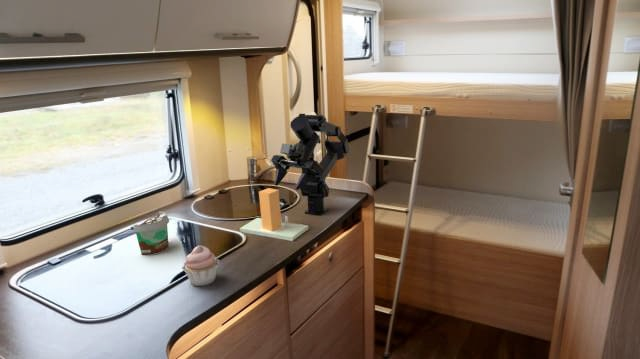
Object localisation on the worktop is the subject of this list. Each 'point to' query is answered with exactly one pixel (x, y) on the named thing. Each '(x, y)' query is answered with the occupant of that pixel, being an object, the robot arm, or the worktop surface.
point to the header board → (285, 232)
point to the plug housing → (270, 209)
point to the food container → (153, 234)
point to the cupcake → (201, 266)
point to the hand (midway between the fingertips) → (285, 187)
